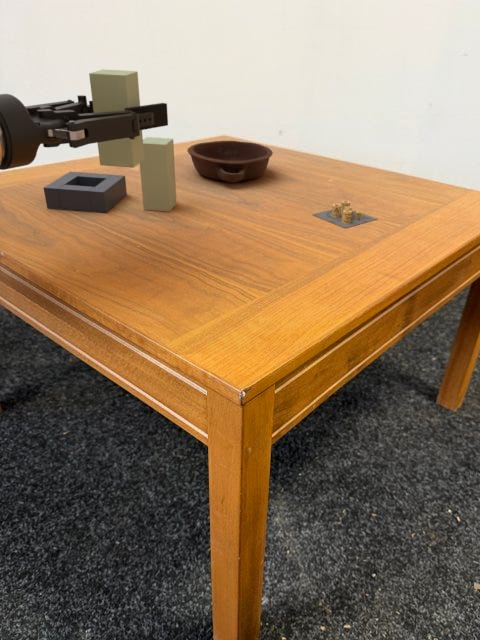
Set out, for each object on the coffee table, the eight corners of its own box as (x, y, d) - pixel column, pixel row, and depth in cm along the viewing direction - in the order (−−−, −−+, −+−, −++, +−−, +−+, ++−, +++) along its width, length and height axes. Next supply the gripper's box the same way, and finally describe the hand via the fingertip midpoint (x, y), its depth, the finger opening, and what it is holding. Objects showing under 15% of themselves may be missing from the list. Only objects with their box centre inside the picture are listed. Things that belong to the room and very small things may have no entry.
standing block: (143, 209, 94) (137, 142, 88) (151, 201, 98) (146, 136, 92) (169, 211, 93) (165, 144, 88) (176, 203, 97) (173, 138, 91)
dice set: (346, 224, 91) (347, 212, 90) (324, 215, 94) (325, 204, 93) (366, 218, 94) (368, 207, 93) (345, 210, 97) (346, 199, 96)
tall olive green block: (100, 165, 73) (88, 73, 67) (112, 157, 77) (102, 69, 71) (133, 167, 72) (125, 75, 66) (144, 159, 76) (137, 71, 70)
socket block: (47, 208, 93) (43, 187, 91) (72, 190, 102) (69, 171, 100) (106, 212, 92) (103, 192, 90) (127, 194, 101) (125, 175, 99)
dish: (184, 188, 105) (183, 161, 102) (191, 159, 124) (190, 136, 121) (275, 190, 106) (276, 163, 104) (268, 161, 125) (269, 138, 122)
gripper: (-50, 155, 66) (105, 128, 82) (45, 188, 56) (200, 151, 72) (-68, 86, 62) (98, 72, 78) (32, 109, 52) (198, 88, 68)
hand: (147, 110), depth 75 cm, fingers closed on tall olive green block, 6 cm apart
